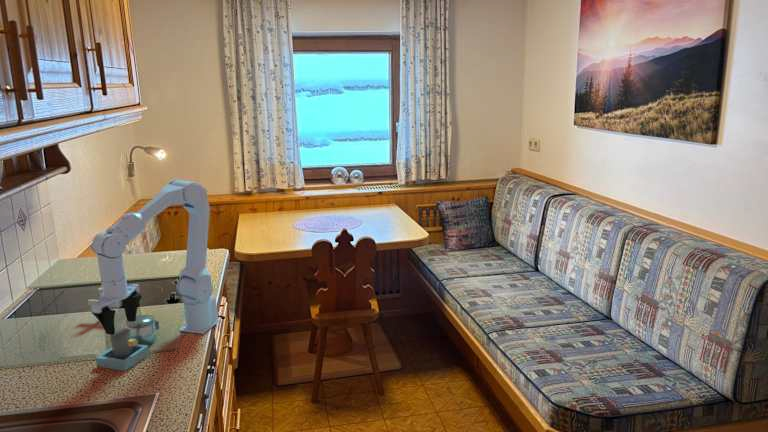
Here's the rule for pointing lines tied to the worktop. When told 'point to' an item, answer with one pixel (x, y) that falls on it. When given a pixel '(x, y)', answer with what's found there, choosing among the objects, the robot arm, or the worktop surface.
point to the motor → (143, 329)
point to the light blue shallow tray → (119, 364)
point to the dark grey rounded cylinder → (122, 344)
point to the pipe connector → (91, 302)
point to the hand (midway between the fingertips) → (121, 327)
